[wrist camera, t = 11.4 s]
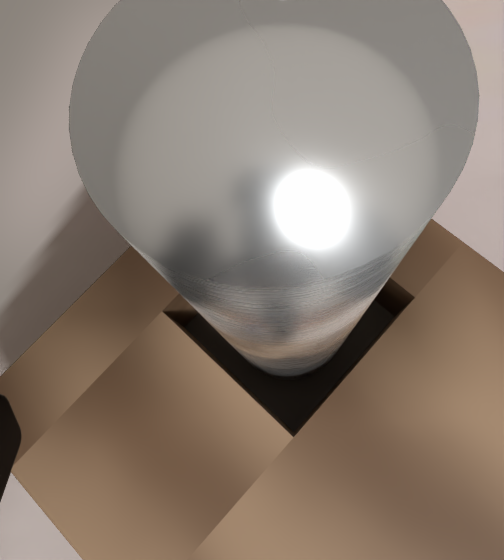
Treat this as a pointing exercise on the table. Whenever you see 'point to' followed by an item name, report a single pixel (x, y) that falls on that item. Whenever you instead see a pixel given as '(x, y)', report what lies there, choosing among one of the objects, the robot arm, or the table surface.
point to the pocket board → (271, 424)
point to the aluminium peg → (274, 154)
